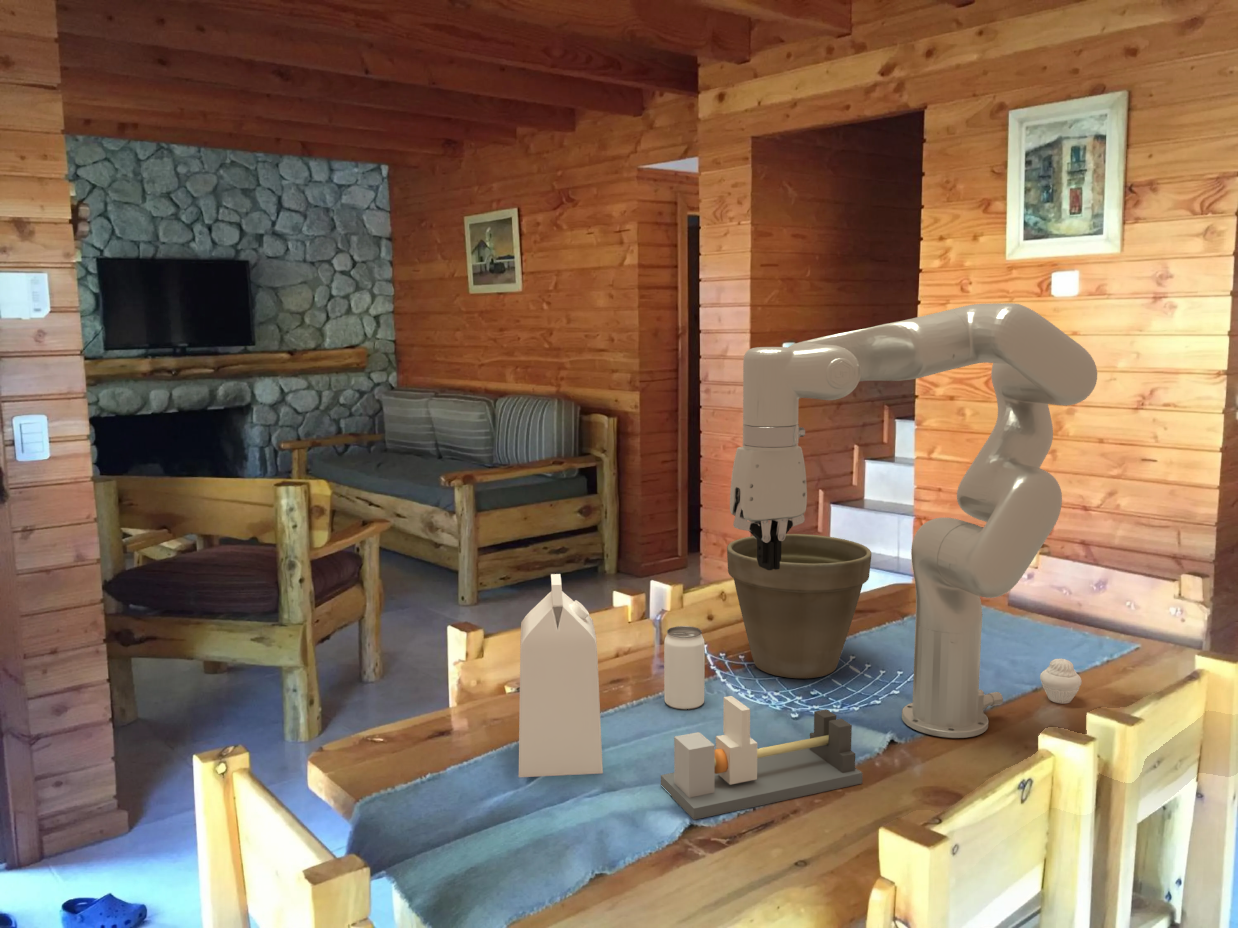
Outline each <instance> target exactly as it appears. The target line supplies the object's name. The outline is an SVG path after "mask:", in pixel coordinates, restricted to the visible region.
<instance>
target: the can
mask: <svg viewBox="0 0 1238 928" xmlns="http://www.w3.org/2000/svg"><path fill="white" fill-rule="evenodd" d="M702 633H703V631H702V630H701V629H700V628H699V627H695V626H690V625H677V626H673V627H670V628H668V629H667V630H666V635H665V638H664V644H663V645H664V646H663V647H664V648H663V649H664V650H663V653H664V654H663V656H664V657H663V661H664V662H663V665H664V667H663V668H664V669H663V673H664V674H663V675H664V676H663V677H664V678H663V680H664V684H663V685H664V691H663V692H664V702H665V703H666V705H667V706H669V707H670V708H672V709H677V710H683V711H684V710H687V709H688V710H695V709H697V708H699V707H701V706H702V705H703V704H704V703H705V673H706V671H705V665H706V663H705V653H706V651H705V639H704V637H703V635H702Z"/></svg>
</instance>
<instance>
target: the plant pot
mask: <svg viewBox="0 0 1238 928" xmlns="http://www.w3.org/2000/svg"><path fill="white" fill-rule="evenodd" d="M726 555H727V559H726V560H727V572H728V574H729V576H730V578H733V582H734V586H735V591H736V594H737V600H738V604H739V608H740V612H741V613H740V614H741V617H742V620H743V624H744V628H745V634H746V637H747V641H748V646H749V649H750V652H751V653H750V654H751V658H752V661H753V663H754V665H755V667H756V668H757V669H759V670H761V671H763V672H764V673H767V674H770V675H773V676H776V677H777V676H778V677H782V678H789V679H790V678H791V679H814V678H820V677H826V676H827V675H830V674H832V673H833V672H834V671H835V670H836V669H837V667H838V664H839V662H840V659H841V655H842V653H843V650H844V647H845V643H846V640H847V637H848V635H849V634H848V633H849V631H850V629H851V625H852V622H853V619H854V615H855V612H856V609H857V607H858V602H859V599H860V595H861V592H862V589H863V586H864V585H863V584H866V583H867V582H868V581H869V579H870V571H871V565H872V564H871V562H872V551H871V550H870V548H868V547H867V546H865V545H864V544H862V543H859V542H857V541H853V540H849V539H846V538H845V539H843V538H841V537H840V538H839V537H833V536H826V535H817V534H815V535H814V534H804V533H803V534H802V533H787V534H786V536H785V539H784V540H783V541H781V561H780V568H779V569H777V570H775V569H773V570H766V569H764V568H762V567H760V566H759V565H758V561H757V539H755V538H754V537H753V535H752V536H746V537H742V538H739V539H738V538H737V539H736V540H733V541H730V542H729V543H728V545H727V546H726Z"/></svg>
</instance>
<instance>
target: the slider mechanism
mask: <svg viewBox="0 0 1238 928" xmlns="http://www.w3.org/2000/svg"><path fill="white" fill-rule="evenodd" d="M813 713H814V714H813V732H811V733H809V738H806V739H800V740H795V741H791V742H790V741H789V742H785V743H780V744H775V745H771V746H764V747H761V748H758V747H757V779H755V780H751V781H746V782H741V783H736V784H731V785H730V784H729V783H727V782H726V781H725V780H724V779H723V778H722V777H721V776H720V775H718V773H723V772H726V771H727V768H728V761H727V756H726V754H725V752H724V750H723V749H716V744H714V743H713V742H712V741H711V740H709V739H708V738H707V737H705V736H704V735H703V734H702V732H698V731H697V732H692V733H687V734H683V735H682V734H681V735H676V736H674V737H673V739H674V740H673V741H674V742H673V743H674V744H673V745H674V747H673V749H674V752H673V753H674V754H673V755H674V756H673V757H674V760H673V761H674V768H673V769H674V771H673V772H669V773H664V774H660V786H661V785H662V786H663V787H664V788H665V789H666V790H667V791H668V792H669V793H670V794H671V796H672V797H673V798H672V797H671V796H670V797H671V798H672V799H673V800H674V799H675V800H674V801H675V802H676V803H677V804H678V805H679V806H680V807H681V808H682V809H683V811H685V813H687V815H688V816H689V817H690V818H692V820H694V821H695V820H700V819H703V818H708V817H709V818H710V817H712V816H713V817H714V816H718V815H721V814H722V815H723V814H726V813H732V812H737V811H740V810H746V809H751V808H754V807H760V806H764V805H769V804H773V803H778V802H783V801H787V800H792V799H797V798H801V797H802V798H803V797H806V796H810V795H815V794H819V793H825V792H829V791H833V790H834V791H835V790H837V789H842V788H848V787H852V786H857V785H861V784H863V772H862V771H861V770H859V769H858V768H856V753H855V752H854V751H853V750H852V735H853V733H852V728H853V726H852V724H851V723H850V722H848V721H846V720H845V719H843V718H838V719H837V715H836V714H835V713H834V712H832V711H830V710H829V709H825V708H824V709H820V710H815V711H814V712H813ZM662 786H661V787H662ZM663 787H662V788H663ZM664 788H663V789H664ZM665 789H664V790H665Z"/></svg>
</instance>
